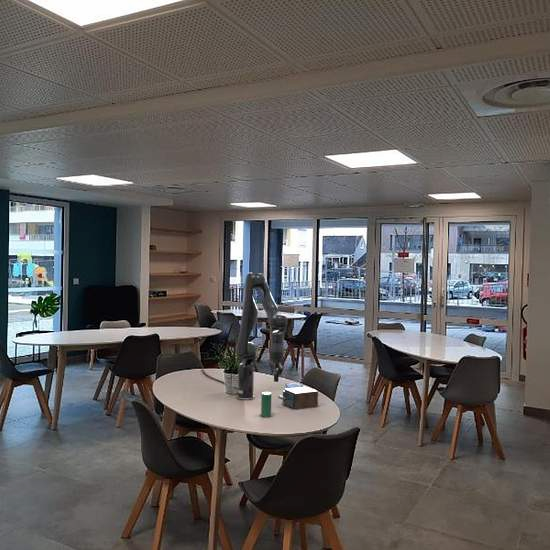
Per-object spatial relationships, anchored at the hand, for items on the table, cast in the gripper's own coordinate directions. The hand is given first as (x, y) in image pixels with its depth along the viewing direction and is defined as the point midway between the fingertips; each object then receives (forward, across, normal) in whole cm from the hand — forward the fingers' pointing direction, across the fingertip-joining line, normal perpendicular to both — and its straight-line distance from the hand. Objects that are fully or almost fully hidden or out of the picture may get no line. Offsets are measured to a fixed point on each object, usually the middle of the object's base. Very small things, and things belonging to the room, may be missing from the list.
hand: (276, 381), depth 297 cm
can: (+15, -12, +12) cm, 23 cm away
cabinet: (+15, 0, -16) cm, 22 cm away
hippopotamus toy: (+15, +18, -22) cm, 32 cm away
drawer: (+14, 0, -12) cm, 18 cm away
